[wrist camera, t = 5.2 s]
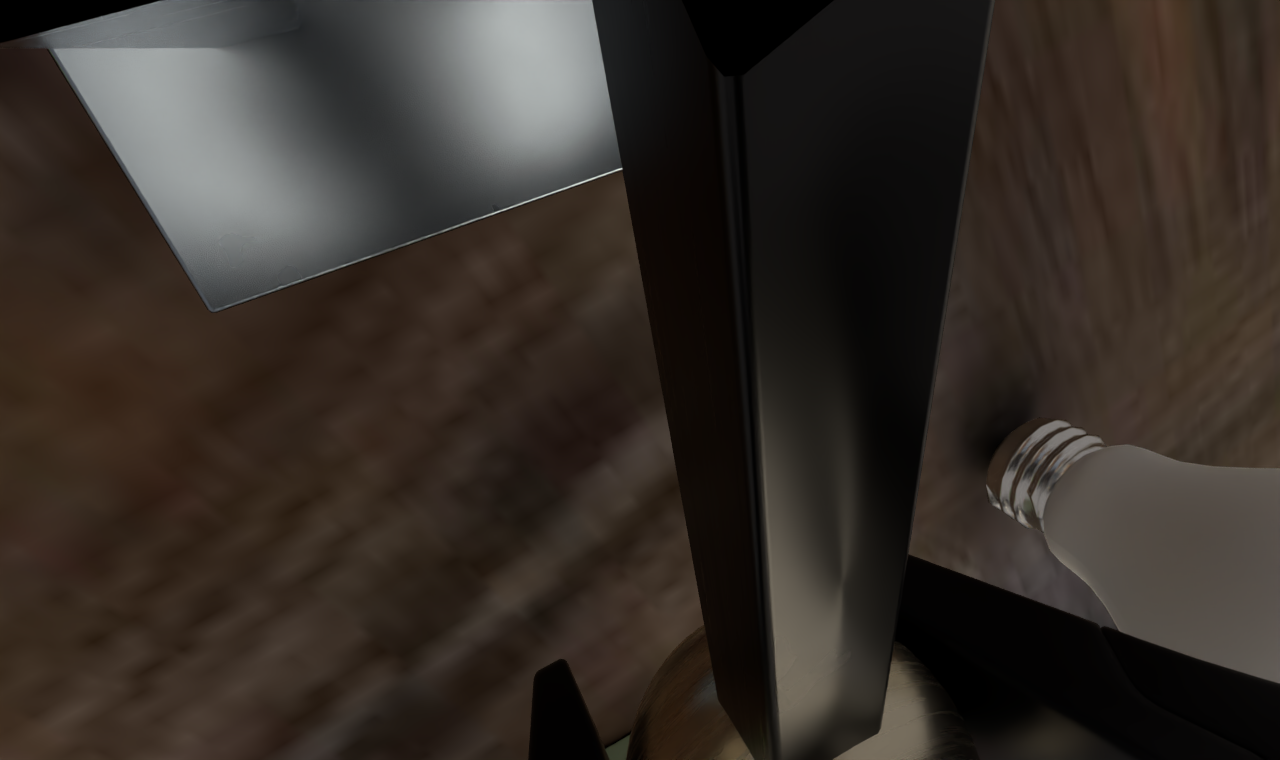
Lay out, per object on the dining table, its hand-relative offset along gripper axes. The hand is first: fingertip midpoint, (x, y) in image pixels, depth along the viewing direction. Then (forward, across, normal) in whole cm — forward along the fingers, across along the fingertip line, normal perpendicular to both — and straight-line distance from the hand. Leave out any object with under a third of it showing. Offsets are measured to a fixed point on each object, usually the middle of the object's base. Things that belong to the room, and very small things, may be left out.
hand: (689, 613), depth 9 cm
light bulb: (+5, -12, +6) cm, 14 cm away
